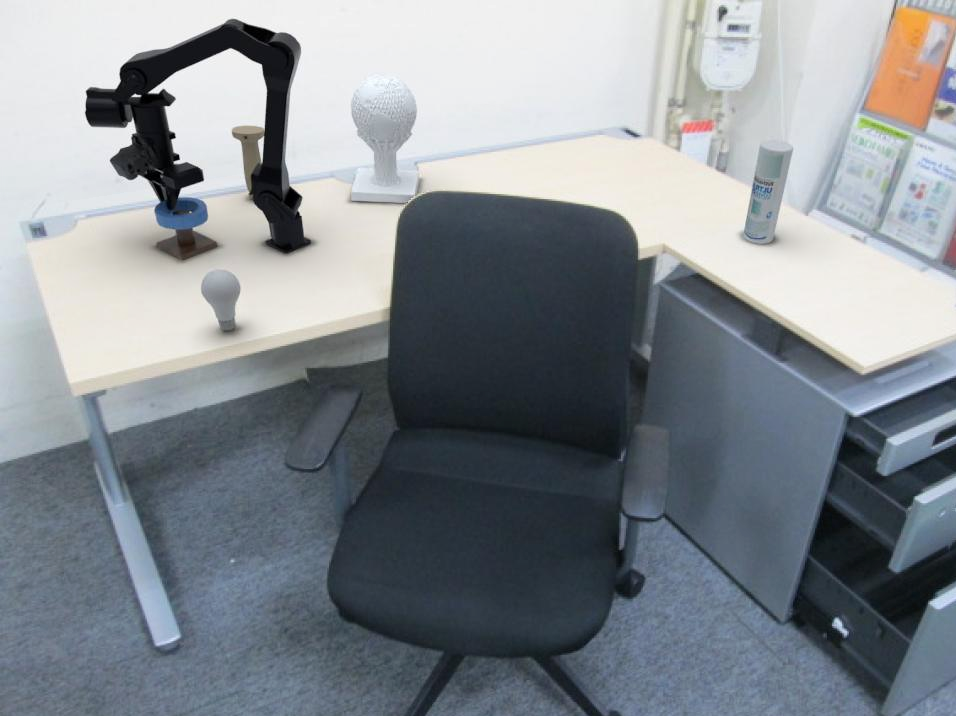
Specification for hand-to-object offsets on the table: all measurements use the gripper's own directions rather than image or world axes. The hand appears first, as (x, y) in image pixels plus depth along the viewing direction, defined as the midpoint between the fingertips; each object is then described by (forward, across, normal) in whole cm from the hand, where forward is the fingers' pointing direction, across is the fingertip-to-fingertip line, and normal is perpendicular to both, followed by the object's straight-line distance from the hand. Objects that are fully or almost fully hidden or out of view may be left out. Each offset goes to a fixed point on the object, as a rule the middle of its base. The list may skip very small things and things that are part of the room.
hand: (168, 208), depth 175 cm
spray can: (+7, +86, +82) cm, 119 cm away
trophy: (+7, +12, +46) cm, 48 cm away
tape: (+1, +4, 0) cm, 4 cm away
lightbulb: (+7, +35, -14) cm, 38 cm away
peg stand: (+7, +4, 0) cm, 8 cm away
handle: (+7, -5, +24) cm, 26 cm away
